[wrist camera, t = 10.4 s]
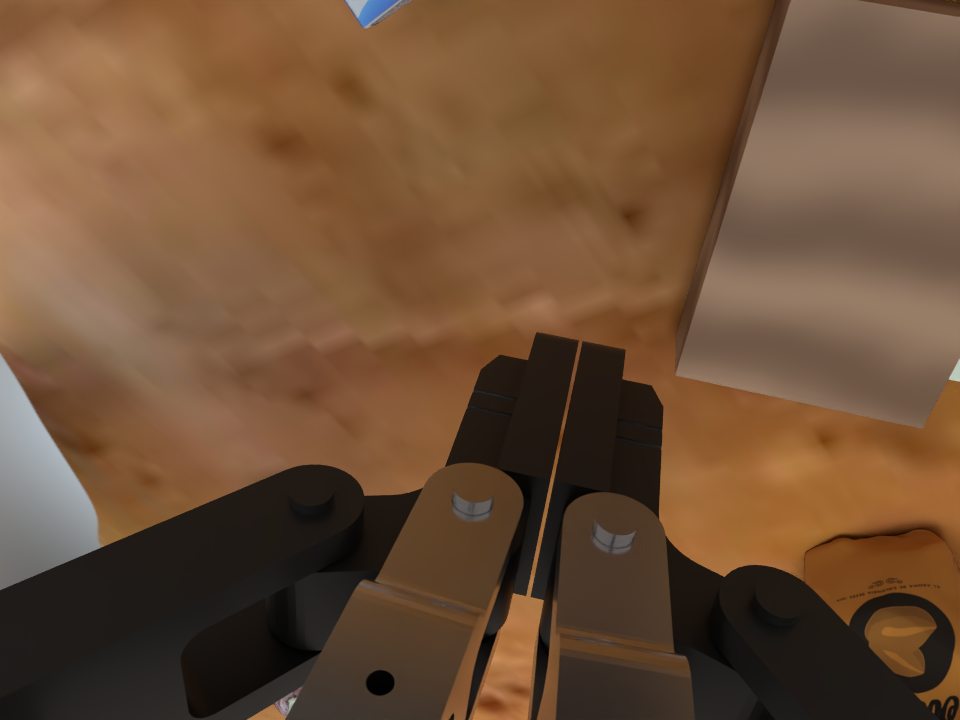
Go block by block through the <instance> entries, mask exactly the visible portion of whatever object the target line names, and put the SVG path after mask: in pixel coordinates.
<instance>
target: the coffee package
mask: <svg viewBox="0 0 960 720" xmlns="http://www.w3.org/2000/svg"><path fill="white" fill-rule="evenodd" d="M805 583H806V584H807V585H808V586H810V587H811V588H812V589H813V590H814V591H815V592H816V593H817V594H818V595H819V596H820V597H821V598H822V599H823V600H824V601H825V602H826V603H827V604H828V605H829V606H830V607H831V608H832V609H833V610H834V611H835V612H836V614H837V615H838V616H839V617H840V618H841V619H842V620H843V621H844V622H845V623H846V624H847V625H848V626H849V627H850V628H851V629H852V630H853V631H854V632H855V633H856V634H857V635H858V636H859V637H860V638H861V639H862V640H863V641H864V642H865V643H866V644H867V645H868V646H869V647H870V648H871V650H872V651H873V652H874V653H875V654H876V655H877V656H878V657H879V658H880V659H881V660H882V661H883V662H884V663H885V664H886V665H887V666H888V667H889V668H890V669H891V670H892V671H893V672H894V673H895V674H896V675H897V676H898V677H899V678H900V679H901V680H902V681H903V682H904V683H905V684H906V686H907V687H908V688H909V689H910V690H911V691H912V692H913V693H914V694H915V695H916V696H917V697H918V698H919V699H920V700H921V701H922V702H923V703H924V704H925V705H926V706H927V707H928V708H929V709H930V710H931V711H932V712H933V713H934V714H935V715H936V716H937V717H938V718H939V719H940V720H960V571H959V569H958V567H957V564H956V562H955V560H954V557H953V555H952V552H951V550H950V549H949V547H948V546H947V544H946V542H945V541H944V540H942V539H940V538H939V537H938V536H937V535H935V534H934V533H932V532H931V531H928V530H924V529H916V530H912V531H910V532H908V533H907V534H902V535H898V536H876V537H871V538H867V539H856V540H852V539H849V538H838V539H835V540H833V541H832V542H830V543H826V544H823V545H819V546H817V547H815V548H812V549H810V550H809V551H807V552H806V553H805Z"/></svg>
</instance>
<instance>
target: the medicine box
mask: <svg viewBox="0 0 960 720" xmlns="http://www.w3.org/2000/svg"><path fill="white" fill-rule="evenodd" d="M344 1H345V2H346V4H347V5H348V7H349V8H350V9H351V11H352V12H353V14H354V16H355V17H356V19H357V20H358V21H359V23H360V25H361V26H362V27H363V28H365V29H366V28H369V27H372V26H374V25H376V24H378V23H379V22H381V21H382V20H384V19H385V18H387V17H388V16H389V15H391V14H392V13H394V12H395V11H397V10H398V9H400V8H401V7H403V6H404V5H406V4H408V3H409V2H411V1H412V0H344Z"/></svg>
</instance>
